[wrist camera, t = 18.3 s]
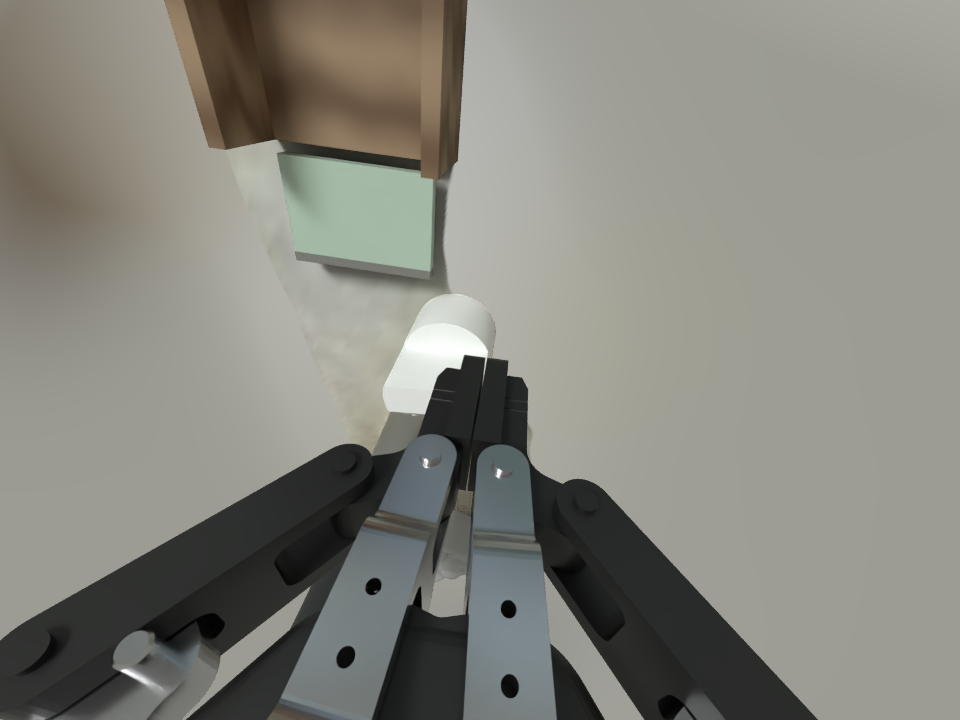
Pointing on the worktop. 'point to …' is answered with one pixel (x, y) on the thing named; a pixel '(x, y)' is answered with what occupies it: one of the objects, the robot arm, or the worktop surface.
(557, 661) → the robot arm
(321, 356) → the worktop surface
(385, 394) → the cylinder with rectangular tab
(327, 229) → the panel
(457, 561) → the lumpy-topped squat cylinder
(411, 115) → the box
